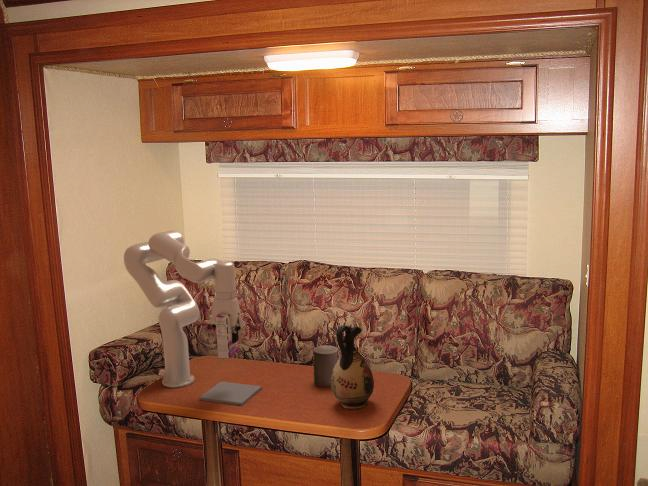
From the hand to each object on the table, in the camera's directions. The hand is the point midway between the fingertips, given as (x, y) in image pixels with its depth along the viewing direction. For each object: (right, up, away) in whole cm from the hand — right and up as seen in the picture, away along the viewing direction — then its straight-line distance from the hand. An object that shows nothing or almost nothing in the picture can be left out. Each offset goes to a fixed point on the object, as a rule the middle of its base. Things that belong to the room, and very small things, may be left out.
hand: (227, 341), depth 230 cm
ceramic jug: (+46, -22, -10) cm, 52 cm away
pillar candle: (+37, -18, +12) cm, 43 cm away
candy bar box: (0, -5, +1) cm, 5 cm away
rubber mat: (+1, -21, +3) cm, 21 cm away
